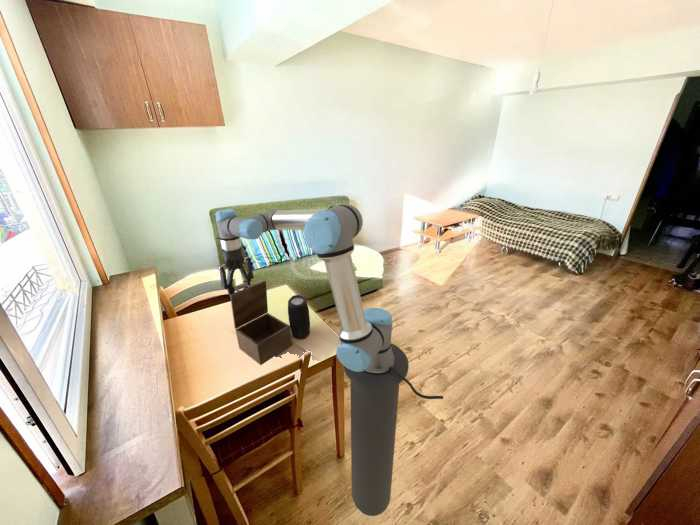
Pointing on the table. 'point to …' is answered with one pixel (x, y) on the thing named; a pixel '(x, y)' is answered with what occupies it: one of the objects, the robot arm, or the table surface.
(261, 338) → the chest
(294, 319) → the portable speaker
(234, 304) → the lid
